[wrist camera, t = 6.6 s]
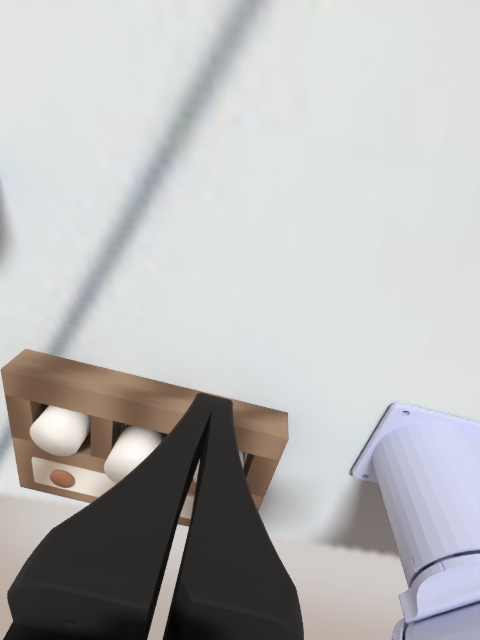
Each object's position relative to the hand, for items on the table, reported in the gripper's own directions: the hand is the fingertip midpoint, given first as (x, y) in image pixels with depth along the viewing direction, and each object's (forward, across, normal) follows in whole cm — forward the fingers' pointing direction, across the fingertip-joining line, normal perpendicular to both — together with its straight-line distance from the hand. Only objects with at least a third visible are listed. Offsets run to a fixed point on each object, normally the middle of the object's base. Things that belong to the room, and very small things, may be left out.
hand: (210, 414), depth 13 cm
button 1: (+9, +11, +12) cm, 18 cm away
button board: (+9, +4, +14) cm, 17 cm away
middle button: (+8, +5, +12) cm, 15 cm away
